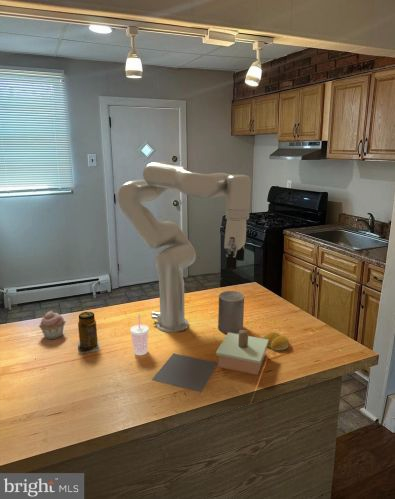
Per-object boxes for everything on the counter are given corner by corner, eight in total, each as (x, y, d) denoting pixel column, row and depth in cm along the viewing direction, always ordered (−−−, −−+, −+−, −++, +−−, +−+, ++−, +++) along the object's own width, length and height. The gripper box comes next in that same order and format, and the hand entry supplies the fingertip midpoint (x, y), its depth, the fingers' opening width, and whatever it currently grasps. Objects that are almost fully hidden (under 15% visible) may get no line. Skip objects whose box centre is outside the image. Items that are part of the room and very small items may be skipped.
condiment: (98, 339, 137) (95, 309, 133) (100, 350, 129) (98, 318, 126) (77, 342, 134) (74, 311, 131) (78, 354, 127) (75, 322, 123)
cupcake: (72, 334, 140) (69, 309, 138) (49, 344, 133) (47, 318, 130) (57, 327, 146) (54, 303, 143) (35, 336, 138) (32, 311, 136)
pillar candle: (217, 322, 150) (218, 287, 146) (242, 322, 149) (243, 287, 145) (218, 334, 140) (218, 297, 136) (244, 334, 140) (245, 297, 136)
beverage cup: (147, 346, 132) (146, 310, 128) (151, 355, 126) (150, 317, 122) (130, 349, 130) (128, 312, 126) (132, 358, 124) (131, 320, 120)
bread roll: (279, 354, 127) (280, 343, 126) (259, 344, 134) (259, 334, 133) (294, 345, 133) (294, 335, 132) (273, 336, 139) (274, 326, 138)
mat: (151, 381, 112) (151, 379, 112) (173, 354, 127) (173, 353, 127) (201, 393, 107) (201, 392, 107) (218, 363, 121) (218, 362, 121)
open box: (218, 368, 119) (218, 354, 118) (229, 348, 130) (229, 335, 129) (257, 376, 115) (258, 362, 113) (265, 355, 126) (266, 342, 125)
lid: (215, 354, 117) (216, 338, 116) (228, 334, 130) (228, 319, 128) (259, 363, 113) (260, 346, 111) (268, 341, 125) (269, 326, 124)
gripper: (233, 208, 130) (231, 256, 134) (217, 217, 114) (216, 270, 119) (254, 210, 127) (252, 258, 132) (241, 219, 112) (239, 273, 116)
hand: (235, 264), depth 125 cm, fingers open, 9 cm apart
